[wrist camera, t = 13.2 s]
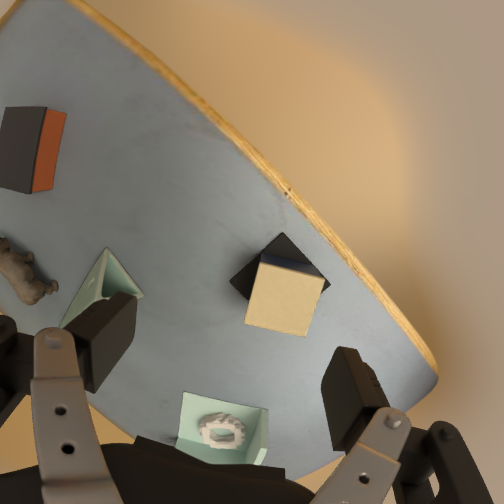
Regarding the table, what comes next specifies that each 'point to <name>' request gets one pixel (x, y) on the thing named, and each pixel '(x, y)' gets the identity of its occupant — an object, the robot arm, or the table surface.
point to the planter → (101, 285)
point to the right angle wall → (222, 431)
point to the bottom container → (29, 148)
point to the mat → (278, 248)
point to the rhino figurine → (22, 275)
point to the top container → (284, 295)
